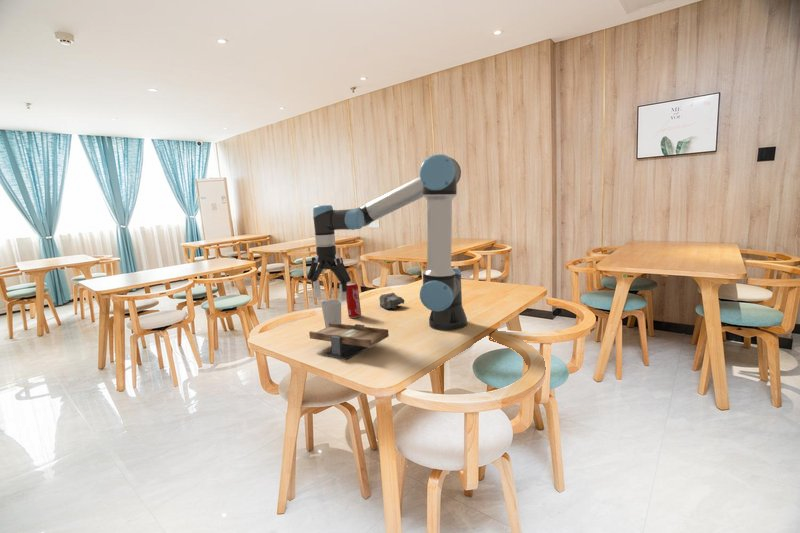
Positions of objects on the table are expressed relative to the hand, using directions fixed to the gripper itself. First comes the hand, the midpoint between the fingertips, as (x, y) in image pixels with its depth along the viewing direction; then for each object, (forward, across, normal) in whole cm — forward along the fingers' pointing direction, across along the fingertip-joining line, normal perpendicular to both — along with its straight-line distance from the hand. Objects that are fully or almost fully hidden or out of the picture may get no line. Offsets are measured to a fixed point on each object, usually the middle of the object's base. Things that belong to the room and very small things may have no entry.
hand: (330, 298), depth 161 cm
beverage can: (+14, +4, -19) cm, 24 cm away
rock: (+14, -5, -37) cm, 40 cm away
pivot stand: (+13, -19, +14) cm, 27 cm away
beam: (+8, -19, +14) cm, 25 cm away
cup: (+14, 0, 0) cm, 14 cm away
